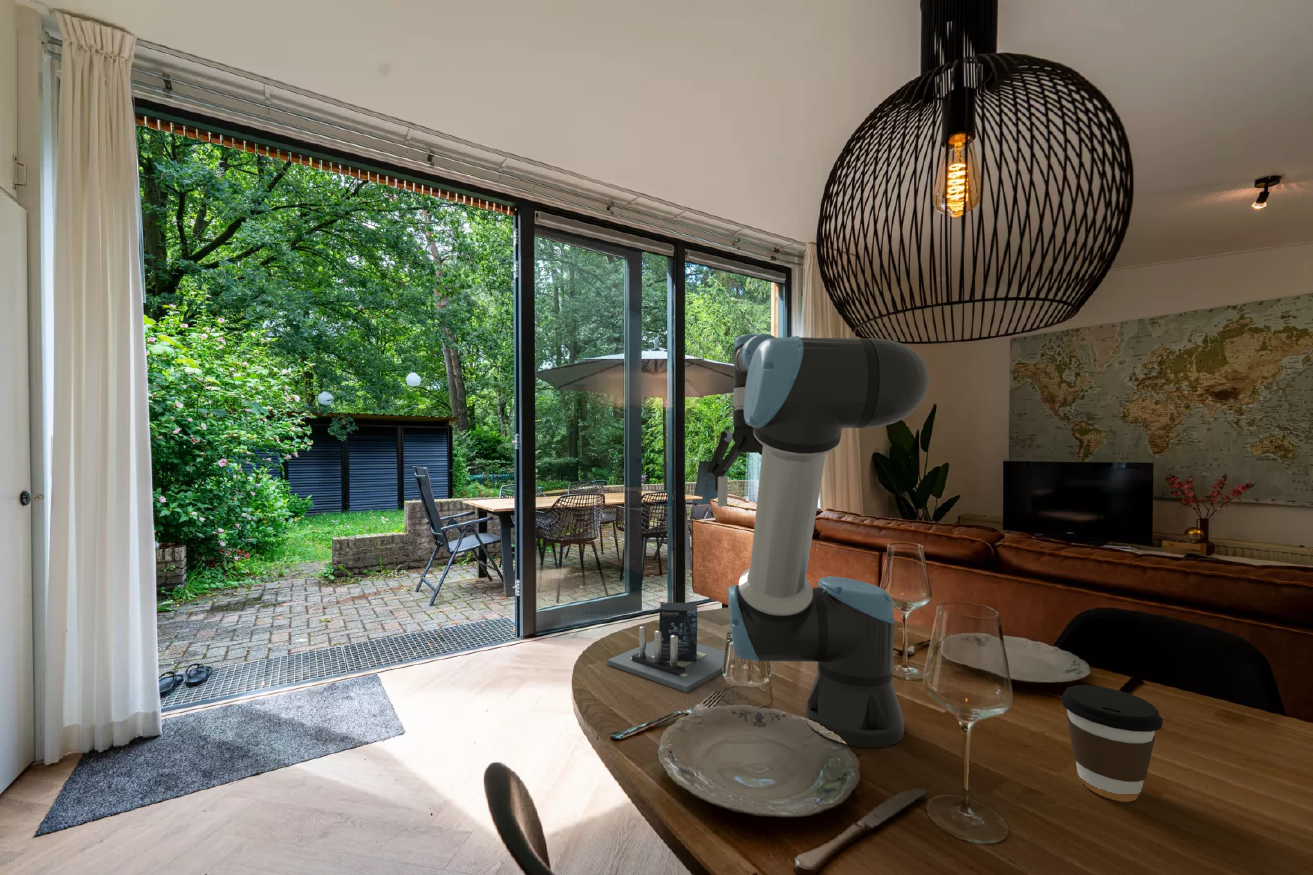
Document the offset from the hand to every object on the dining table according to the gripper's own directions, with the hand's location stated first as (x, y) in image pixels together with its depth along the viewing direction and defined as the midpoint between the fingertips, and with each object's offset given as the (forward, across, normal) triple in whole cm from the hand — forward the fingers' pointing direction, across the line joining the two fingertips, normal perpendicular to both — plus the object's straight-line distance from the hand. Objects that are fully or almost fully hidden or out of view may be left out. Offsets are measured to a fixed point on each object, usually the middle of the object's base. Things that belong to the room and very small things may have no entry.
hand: (749, 509), depth 125 cm
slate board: (+32, +10, +12) cm, 35 cm away
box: (+31, +10, +12) cm, 34 cm away
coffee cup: (+32, -61, +9) cm, 69 cm away
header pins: (+31, +10, +18) cm, 37 cm away
